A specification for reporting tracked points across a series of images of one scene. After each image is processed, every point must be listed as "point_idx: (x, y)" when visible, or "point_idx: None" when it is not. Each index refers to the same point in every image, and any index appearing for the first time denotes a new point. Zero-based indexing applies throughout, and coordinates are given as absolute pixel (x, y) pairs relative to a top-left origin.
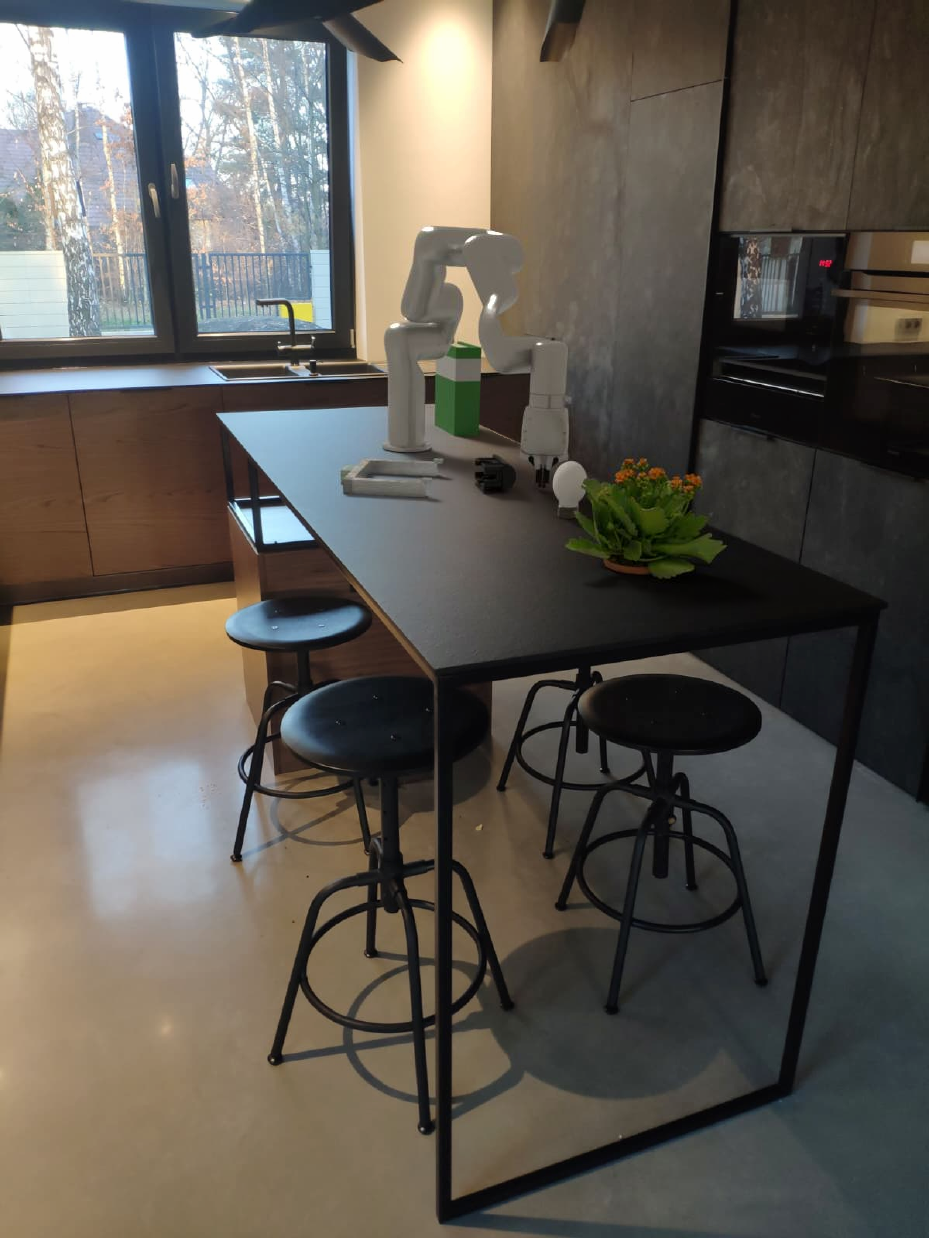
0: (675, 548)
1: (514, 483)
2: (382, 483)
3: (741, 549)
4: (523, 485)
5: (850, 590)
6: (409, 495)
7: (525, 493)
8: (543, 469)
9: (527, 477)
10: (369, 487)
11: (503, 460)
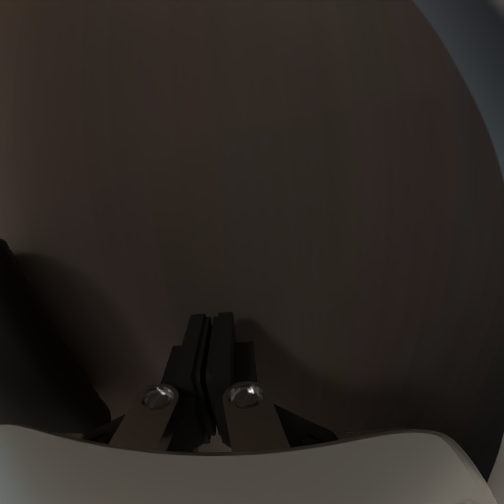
0: None
1: (110, 418)
2: None
3: (483, 469)
4: (109, 236)
5: None
6: None
7: (159, 378)
8: (216, 419)
9: (110, 49)
10: None
11: (2, 423)
